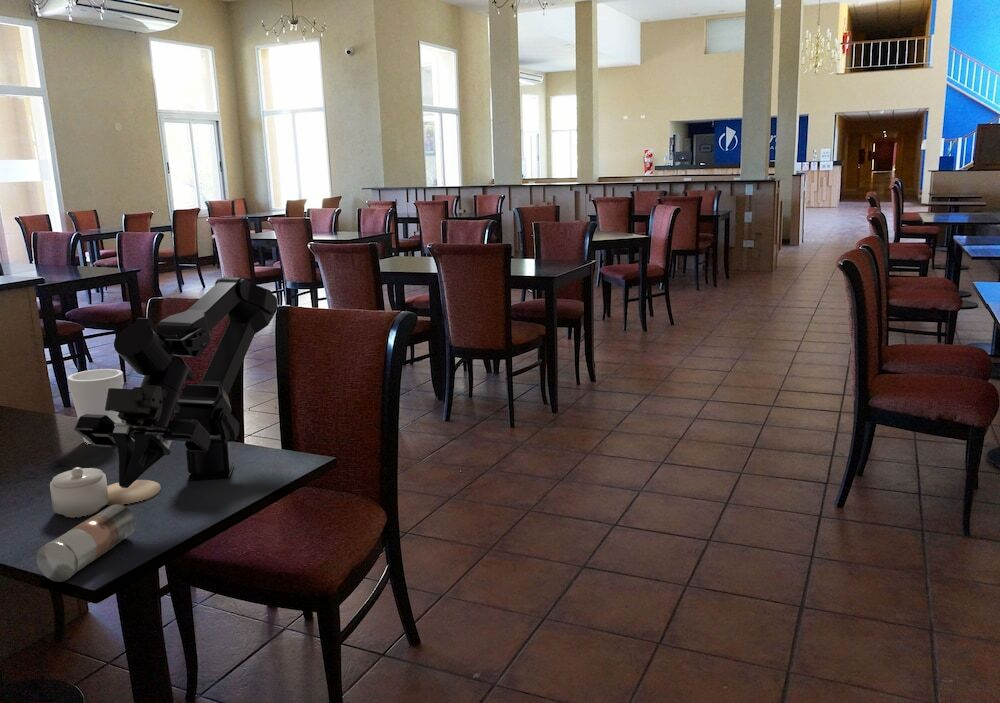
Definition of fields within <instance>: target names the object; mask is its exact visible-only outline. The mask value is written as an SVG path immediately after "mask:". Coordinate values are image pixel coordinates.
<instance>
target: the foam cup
mask: <svg viewBox="0 0 1000 703" xmlns="http://www.w3.org/2000/svg"><path fill="white" fill-rule="evenodd" d="M124 380H125V379H124V372H123V371H122V370H121V369H115V368H113V369H112V368H103V369H102V368H100V369H99V368H97V369H89V370H83V371H79V372H75V373H72V374H69V375H68V376H67V386H68V391H69V392H70V395H71V399H72V403H73V405H74V410H75V412H76V416H77V420H78V419H79V418H80V416H83V415H85V414H95V415H107V416H108V417H109V418H110V419H111V420H112V421H113V422H115V423H122V420H121V419H120V418H119V417H118V414H119V412H116V411H111V410H110V411H105V406H106V400H107V394H108V389H109V388H117V389H124V388H123V386H124V384H125V382H124ZM82 439H83V441H84V443H85V442H86V443H87V444H86V443H85V444H86V445H88V444H91V443H90V442H89V441H88V440H86V439H85V438H84V437H83V436H82Z"/></svg>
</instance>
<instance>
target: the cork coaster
mask: <svg viewBox="0 0 1000 703" xmlns="http://www.w3.org/2000/svg"><path fill="white" fill-rule="evenodd" d="M107 489H108V498H109V501H108V503H107V504H106V505H109V506H111V505H114V504H119V505H123V506H125V505H124V504H128V505H131V504H130V503H134V502H138V503H140V502H139V501H141V502H144V501H143V500H145V501H147V500H150V499H151V498H154V497H155V496H157V495H158V494H159V493H160V492H161V490H162V488H161V484H160V483H159V482H157V481H154V480H148V479H137V480H136V481H134V482H133V483H132V484H131V485H130V486H129V487H128V488H122V487H121V486H119V481H118V482H115V483H112V484H109V485H108V484H107ZM134 504H135V503H134ZM106 505H105V506H106ZM109 506H108V507H109Z"/></svg>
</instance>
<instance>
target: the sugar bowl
mask: <svg viewBox="0 0 1000 703" xmlns="http://www.w3.org/2000/svg"><path fill="white" fill-rule="evenodd" d="M107 486H108V483H107V474H105V472H103V470H102V469H99V468H96V467H89V468H87V467H86V468H85V467H84V468H82V467H79V466H76V467H73V468H72V469H70V470H67V471H64V472H61V473H58V474H56V475H55V476H54V477H53V478H52V480H51V481H50V483H49V489H50V490H49V491H50V497H51V504H52V510H53V512H54V513H55V514H58V515H63V516H64V517H65V518H69V517H70V518H73V519H74V518H75V517H77V518H83V517H82V516H84V517H88V516H91V515H94V514H97V512H98V513H99V512H100V510H101V508H103V507H105V506H106V504H107V503H108V501H109V498H108V489H107ZM87 515H88V516H87ZM75 519H76V518H75Z"/></svg>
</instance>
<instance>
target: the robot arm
mask: <svg viewBox="0 0 1000 703" xmlns="http://www.w3.org/2000/svg"><path fill="white" fill-rule="evenodd" d="M276 296H277V295H275V294H273V292H272V291H271V289H268V288H266V287H262V286H260V285H256V284H255V283H252V282H250V281H249V280H248V279H246V278H245V279H244V278H243V277H220V278H218V279H216V281H215V283H214V285H213V286H212V287H211V288H210V289H209V290H208V291H207V292H206V293H205V294H203V295H202V296H201V297H200V298H199V299H198V300H197V301H195V303H194V304H193V305H191V307H189V308H188V309H187V310H185V311H182V312H179V313H175V314H171V315H169V316H167V317H165V318H163V319H162V320H159V322H157V324H156V325H155V323H154V322H153V320H152V319H151V318H149V317H148V318H146V317H137V318H136V320H135V322H134V323H133V324H130V325H128V326H126V327H125V328H124V329H122V331H120V332H119V333H118V334H117V335H116V336H115V337H114V341H113V348H114V351H115V352H116V353H117V354H118V355H119V356H120V357H121V359H123V360H124V361H125V362H126V363H127V364H128V366H130V367H131V368H132V369H133V371H135V373H137V374H139V375H140V376H143V378H142V380H141V384H140V385H139V386H134V387H133V388H123V389H117V388H109V389H108V394H107V400H106V406H105V411H110V410H111V411H116V412H119V414H118V417H119V418H120V419H121V421H124V422H121V423H115V422H113V421H112V420H111V419H110V418H109V417H108V416H107V415H95V414H85V415H83V416H80V418H79V419H78V418H77V421H76V423H75V426H74V428H73V430H74V431H75V432H76V433H78V434H79V435H81V437H82V438H83V437H84V438H85V439H86V440H88V441H89V442H90V443H91V444H93V445H92V446H96V447H103V448H105V447H106V448H115V447H117V453H118V454H117V455H118V482H119V486H121V487H122V488H128V487H129V486H130V485H131V484H132V483H133V482H134V481H136V480H139V478H140V477H141V476H142V475H143V474H145V472H146V471H147V470H148V469H149V468H151V467H152V466H153V465H154V464H155V463H157V462H158V461H159V460H160V459H162V458H163V457H164V456H170V454H171V452H172V451H171V450H170V446H171V443H172V442H174V441H176V442H177V441H178V442H184V443H185V444H184V446H185V448H186V450H185V456H186V465H187V472H188V473H189V476H188V478H189V480H190V481H192V480H193V481H194V480H206V479H207V480H208V479H211V480H212V479H224V478H225V479H226V478H230V476H231V473H232V472H233V469H234V466H235V462H234V461H233V460H232V459H233V457H232V445H231V442H235V441H236V440H238V436H239V434H240V422H239V421H238V420H237V419H236V418H235V416H234V415H232V405H231V403H230V398H229V395H230V391H231V389H232V387H233V385H234V383H235V381H236V378H237V376H238V373H239V371H240V370H241V366H242V365H243V363H244V359H245V358H246V355H247V353H248V351H249V348H250V346H251V344H252V342H253V339H254V337H255V335H257V333H259V332H260V331H262V330H264V329H265V328H266V327H268V326H269V324H270V323H271V321H272V319H273V318H274V316H275V314H276V313H277V311H278V307H279V303H278V301H279V300H278V298H277V297H276ZM226 316H227V317H228V320H229V321H228V324H227V326H226V328H225V330H224V333H223V335H222V337H221V339H220V341H219V343H218V345H217V347H216V349H215V351H214V354H213V356H212V358H211V360H210V363H209V364H208V367H207V369H206V371H205V372H204V375H203V377H202V379H201V381H200V383H198V384H186V385H185V382H186V381H193V380H194V379H195V376H194V373H193V370H192V369H191V365H190V363H189V362H185V361H184V360H183V358H182V357H184V358H185V357H186V358H187V357H189V358H191V357H193V358H197V357H200V356H202V354H203V353H204V352H205V351H206V349H207V348H208V346H209V344H210V343H211V342H212V338H211V332H212V331H213V329H214V328H215V327H216V326H217V325H218V324H219V323H220V322H221V321H222V320H223V319H224V318H225V317H226Z"/></svg>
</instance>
